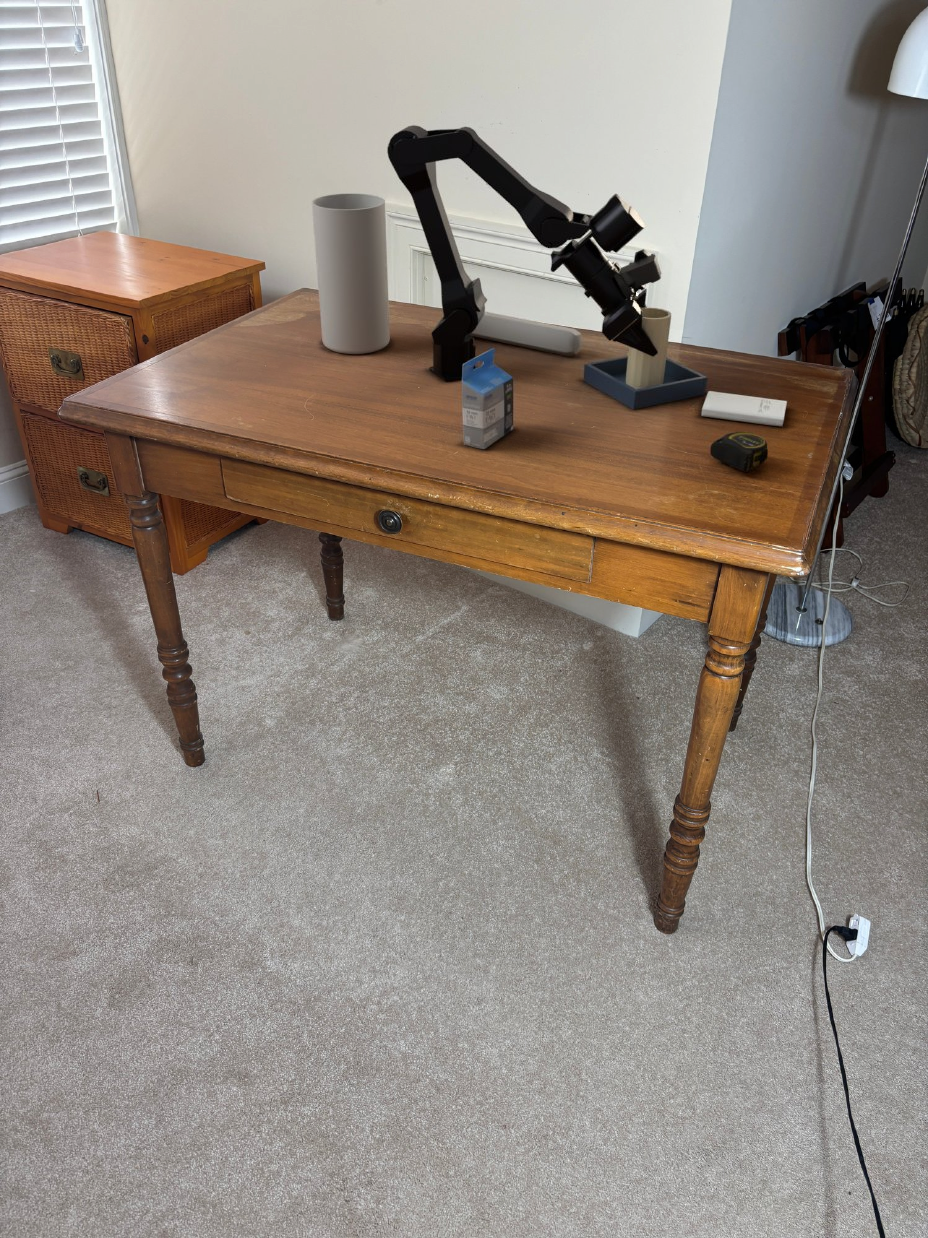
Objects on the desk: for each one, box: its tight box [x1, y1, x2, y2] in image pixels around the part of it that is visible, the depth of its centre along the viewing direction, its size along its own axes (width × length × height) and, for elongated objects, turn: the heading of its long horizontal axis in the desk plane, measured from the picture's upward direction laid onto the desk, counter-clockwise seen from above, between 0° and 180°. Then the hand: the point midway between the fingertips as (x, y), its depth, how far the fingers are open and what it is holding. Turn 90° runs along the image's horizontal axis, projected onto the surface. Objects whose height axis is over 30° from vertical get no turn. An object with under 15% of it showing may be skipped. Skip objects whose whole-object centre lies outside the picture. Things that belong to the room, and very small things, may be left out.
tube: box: [468, 311, 583, 357], centre depth 182 cm, size 5×5×25 cm
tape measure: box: [709, 431, 769, 473], centre depth 139 cm, size 7×7×4 cm
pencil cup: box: [625, 307, 672, 390], centre depth 162 cm, size 6×6×12 cm
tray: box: [582, 355, 708, 410], centre depth 165 cm, size 15×15×3 cm
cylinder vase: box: [311, 192, 391, 355], centre depth 176 cm, size 12×12×25 cm
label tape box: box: [461, 347, 515, 450], centre depth 144 cm, size 9×4×12 cm, turn 148°
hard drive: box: [700, 390, 788, 427], centre depth 156 cm, size 2×8×12 cm
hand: (656, 345), depth 161 cm, fingers open, 9 cm apart
